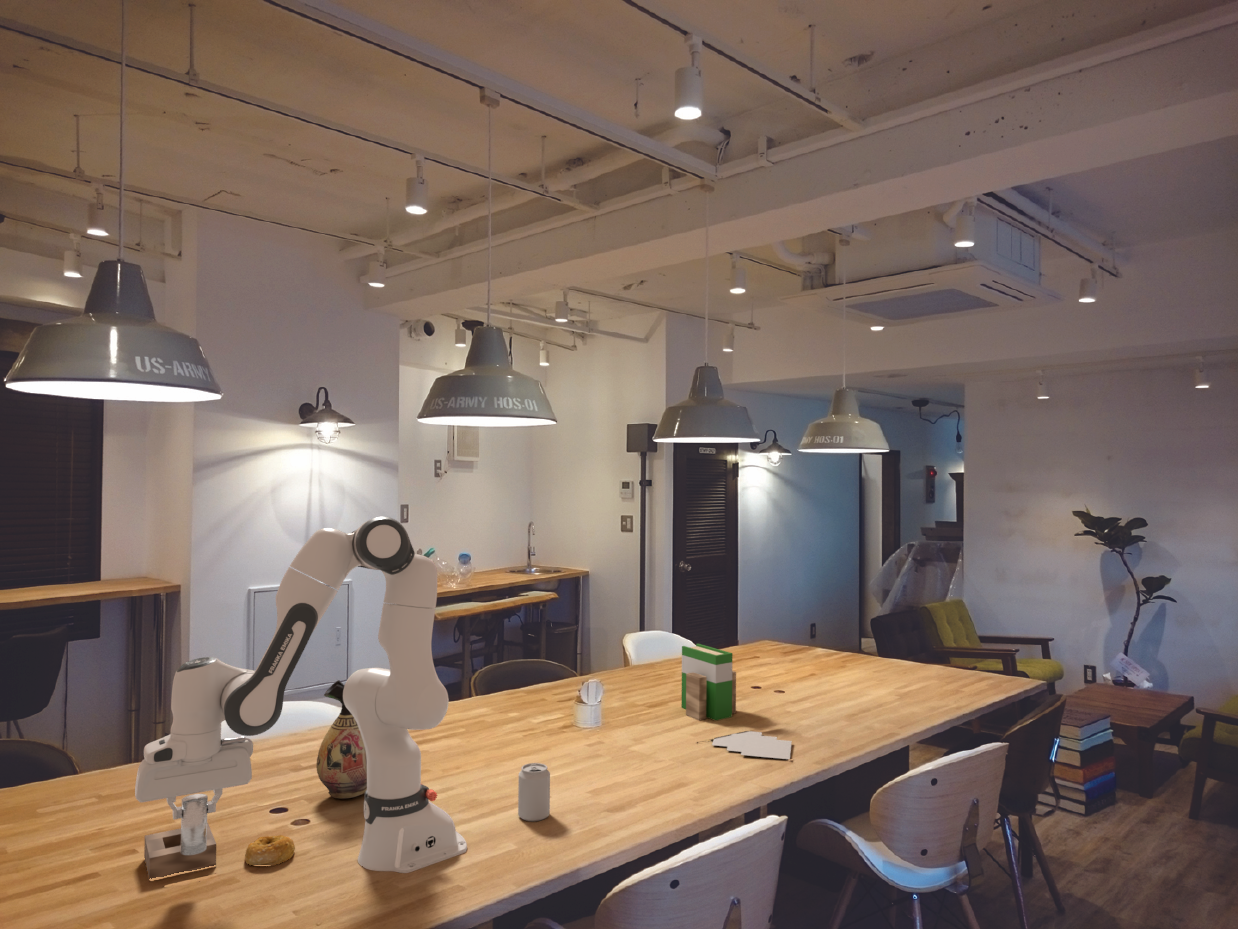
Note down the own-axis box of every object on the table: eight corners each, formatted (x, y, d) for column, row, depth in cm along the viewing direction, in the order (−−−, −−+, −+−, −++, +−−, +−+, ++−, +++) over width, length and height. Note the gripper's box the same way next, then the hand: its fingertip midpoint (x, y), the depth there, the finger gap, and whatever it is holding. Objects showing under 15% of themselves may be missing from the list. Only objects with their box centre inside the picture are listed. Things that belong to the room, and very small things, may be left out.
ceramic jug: (313, 807, 204) (315, 683, 204) (318, 784, 219) (320, 668, 219) (386, 800, 209) (387, 679, 209) (386, 778, 224) (387, 665, 224)
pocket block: (207, 846, 183) (207, 823, 183) (216, 868, 173) (216, 843, 173) (144, 859, 176) (144, 835, 176) (149, 883, 166) (149, 858, 166)
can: (520, 825, 195) (521, 773, 195) (515, 812, 203) (516, 762, 203) (552, 822, 197) (553, 770, 197) (546, 809, 205) (547, 760, 205)
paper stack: (708, 754, 246) (708, 751, 246) (718, 728, 271) (718, 726, 271) (789, 761, 241) (789, 759, 241) (792, 735, 265) (792, 732, 265)
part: (204, 843, 167) (205, 792, 167) (208, 851, 163) (209, 799, 163) (179, 848, 164) (180, 796, 164) (182, 857, 160) (183, 804, 161)
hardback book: (681, 715, 293) (681, 646, 293) (697, 711, 297) (698, 643, 297) (715, 728, 278) (715, 656, 278) (731, 724, 283) (732, 653, 283)
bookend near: (692, 713, 286) (693, 672, 286) (706, 719, 280) (706, 676, 280) (685, 715, 284) (686, 673, 284) (699, 720, 278) (699, 678, 278)
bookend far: (722, 708, 293) (722, 667, 293) (735, 713, 287) (736, 671, 287) (715, 709, 291) (716, 668, 291) (729, 714, 285) (729, 673, 285)
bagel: (302, 847, 184) (302, 825, 184) (285, 871, 173) (286, 847, 173) (255, 848, 183) (255, 826, 183) (235, 872, 172) (236, 849, 172)
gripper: (250, 730, 172) (249, 799, 172) (135, 747, 161) (133, 820, 161) (256, 739, 167) (254, 809, 167) (137, 756, 156) (135, 832, 155)
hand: (194, 815), depth 164 cm, fingers closed on part, 4 cm apart
